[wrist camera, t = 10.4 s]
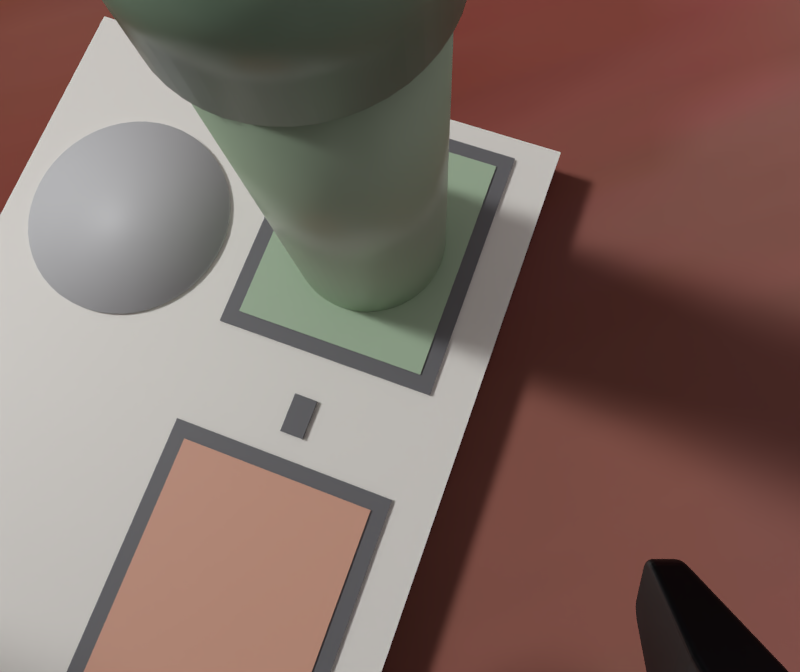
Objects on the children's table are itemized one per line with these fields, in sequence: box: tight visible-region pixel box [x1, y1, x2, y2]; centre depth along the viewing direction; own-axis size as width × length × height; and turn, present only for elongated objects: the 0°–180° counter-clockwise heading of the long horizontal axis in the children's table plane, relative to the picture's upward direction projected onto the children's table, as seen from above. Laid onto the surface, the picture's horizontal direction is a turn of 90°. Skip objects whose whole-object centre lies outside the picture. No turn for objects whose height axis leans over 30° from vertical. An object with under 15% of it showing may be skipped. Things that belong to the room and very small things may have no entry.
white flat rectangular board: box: [0, 17, 561, 672], centre depth 18 cm, size 18×14×1 cm
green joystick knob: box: [102, 0, 466, 312], centre depth 12 cm, size 4×4×12 cm
